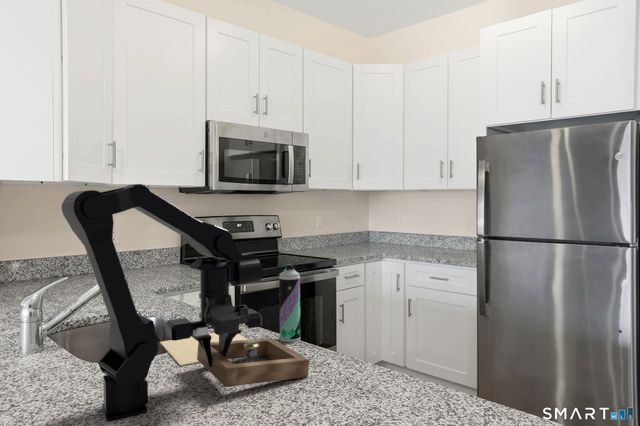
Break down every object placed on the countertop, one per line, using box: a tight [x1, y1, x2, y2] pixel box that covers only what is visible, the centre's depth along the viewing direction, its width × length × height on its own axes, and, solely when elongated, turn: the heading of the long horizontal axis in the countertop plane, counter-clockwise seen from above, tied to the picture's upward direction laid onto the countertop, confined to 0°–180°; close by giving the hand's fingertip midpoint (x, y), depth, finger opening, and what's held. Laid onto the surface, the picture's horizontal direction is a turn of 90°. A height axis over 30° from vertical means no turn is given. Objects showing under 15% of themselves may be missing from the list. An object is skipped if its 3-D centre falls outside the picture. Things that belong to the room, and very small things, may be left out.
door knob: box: [244, 342, 259, 363], centre depth 96 cm, size 4×4×6 cm
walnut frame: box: [197, 337, 310, 388], centre depth 96 cm, size 18×18×4 cm
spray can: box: [278, 264, 301, 343], centre depth 119 cm, size 6×6×20 cm
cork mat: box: [159, 332, 249, 367], centre depth 114 cm, size 20×20×1 cm
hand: (215, 365), depth 92 cm, fingers closed on walnut frame, 2 cm apart
